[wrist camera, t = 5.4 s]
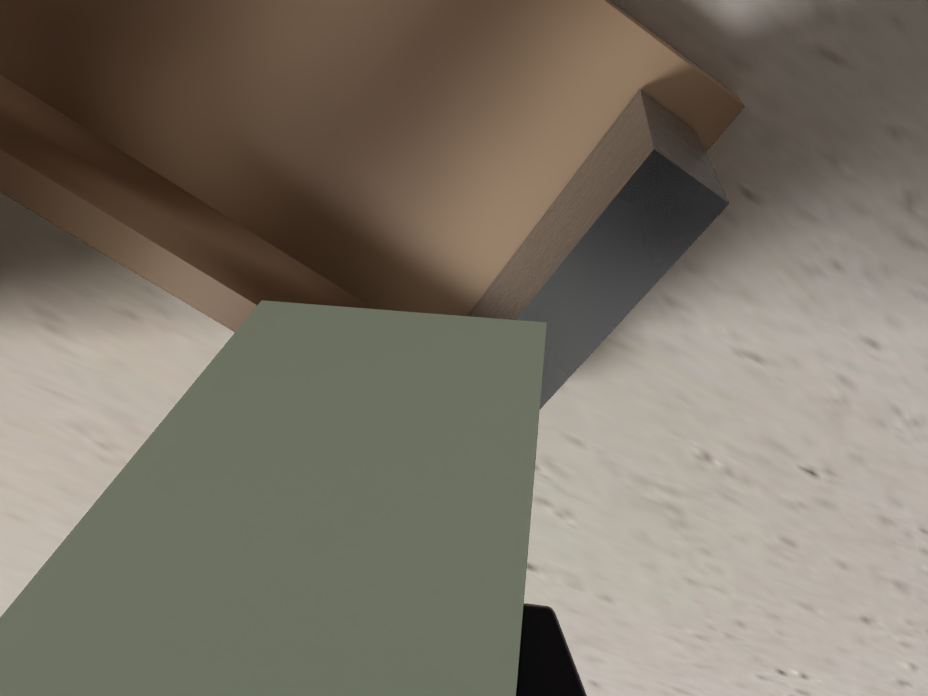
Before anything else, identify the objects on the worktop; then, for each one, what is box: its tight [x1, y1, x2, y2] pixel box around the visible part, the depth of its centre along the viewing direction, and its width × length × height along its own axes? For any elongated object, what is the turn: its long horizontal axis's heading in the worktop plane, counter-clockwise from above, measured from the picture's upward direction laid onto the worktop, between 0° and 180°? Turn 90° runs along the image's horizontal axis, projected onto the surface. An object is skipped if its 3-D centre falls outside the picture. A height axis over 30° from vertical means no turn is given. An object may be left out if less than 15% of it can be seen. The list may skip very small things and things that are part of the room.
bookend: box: [468, 89, 729, 409], centre depth 15 cm, size 2×8×4 cm, turn 148°
